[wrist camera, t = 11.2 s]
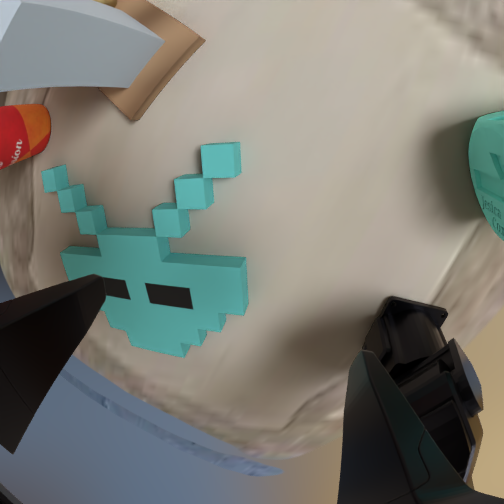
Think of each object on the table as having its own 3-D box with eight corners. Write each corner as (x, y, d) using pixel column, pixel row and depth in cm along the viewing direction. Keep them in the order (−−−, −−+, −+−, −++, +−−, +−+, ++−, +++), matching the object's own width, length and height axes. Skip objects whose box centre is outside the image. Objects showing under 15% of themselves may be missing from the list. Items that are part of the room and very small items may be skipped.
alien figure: (56, 166, 23) (99, 323, 32) (41, 171, 21) (90, 333, 30) (241, 141, 19) (252, 352, 28) (233, 143, 17) (247, 368, 26)
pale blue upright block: (165, 41, 15) (21, 2, 4) (128, 88, 17) (-20, 95, 6) (121, 10, 14) (-4, -20, 3) (90, 53, 16) (-38, 51, 5)
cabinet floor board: (205, 40, 16) (180, 24, 12) (139, 119, 19) (105, 123, 15) (129, -10, 14) (99, -23, 10) (77, 60, 17) (45, 58, 14)
